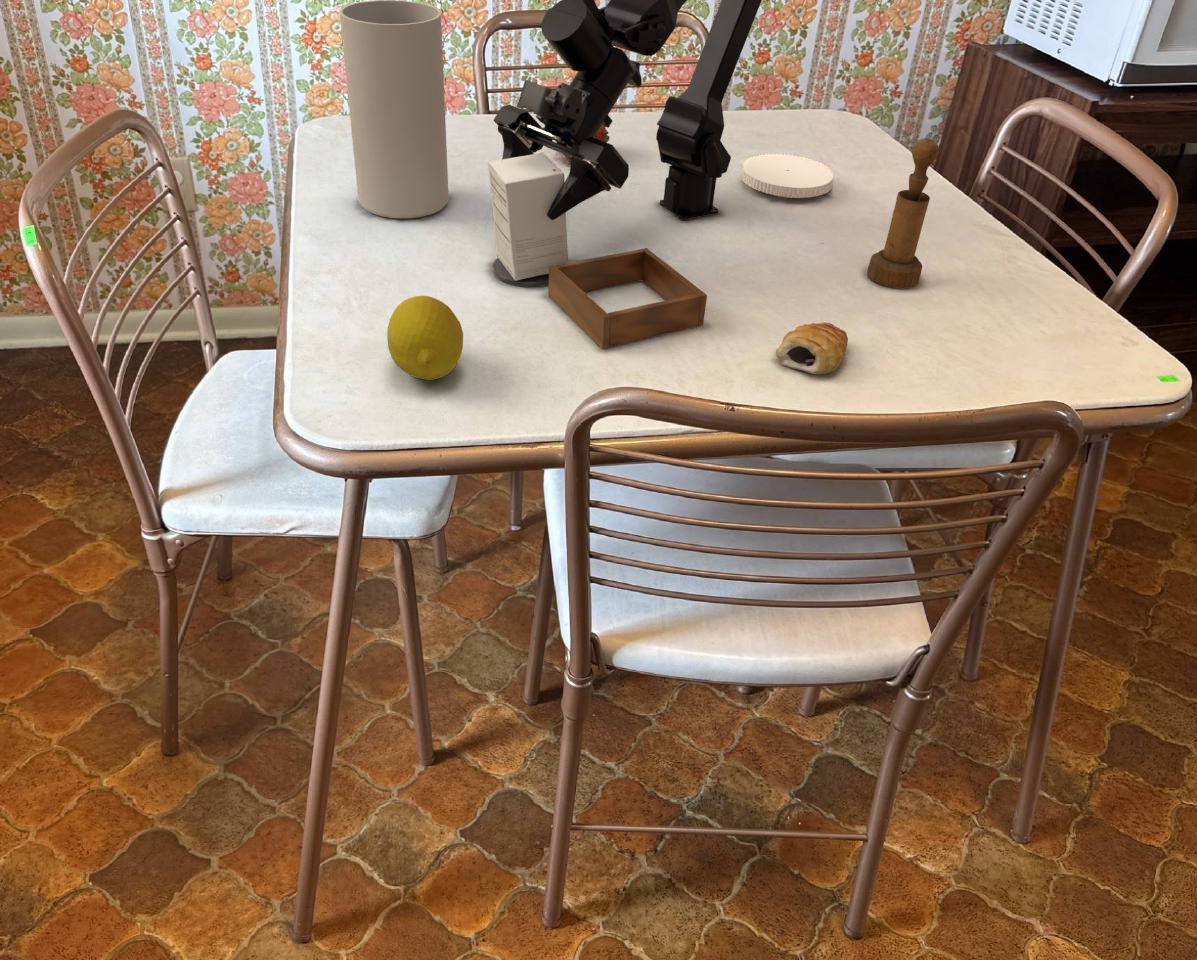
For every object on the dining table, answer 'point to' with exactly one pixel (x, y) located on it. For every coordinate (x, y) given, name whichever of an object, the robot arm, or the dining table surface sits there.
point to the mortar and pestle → (906, 226)
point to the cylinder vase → (396, 106)
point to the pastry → (813, 348)
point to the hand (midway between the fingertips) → (523, 205)
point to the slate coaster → (527, 282)
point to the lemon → (425, 337)
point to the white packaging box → (527, 215)
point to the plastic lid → (787, 175)
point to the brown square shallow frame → (632, 323)
